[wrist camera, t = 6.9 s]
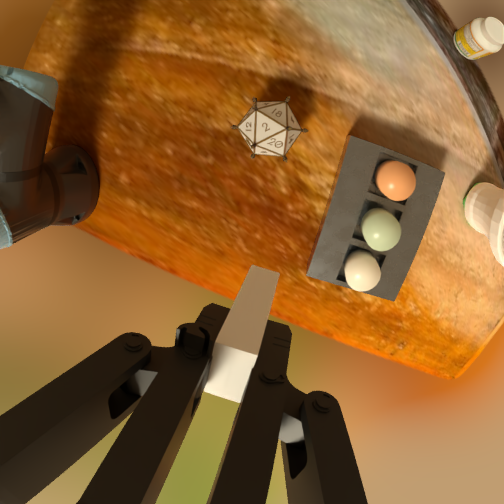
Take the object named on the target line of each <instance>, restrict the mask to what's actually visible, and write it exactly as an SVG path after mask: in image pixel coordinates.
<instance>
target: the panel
mask: <svg viewBox="0 0 504 504" xmlns="http://www.w3.org/2000/svg"><path fill="white" fill-rule="evenodd" d="M388 160H395V161H398V162H401V163H404V164H406V165H408V166H409V167H410V168H411V169H412V171H413V172H414V175H415V178H416V186H415V189H414V191H413V193H412V194H411V195H410V196H409V197H408V198H407V199H405V200H402V201H394V200H391V199H389V198H388V197H387V196H385V195H384V194H383V193H382V192H381V191H380V190H379V189H378V188H377V186H376V183H375V172H376V170H377V168H378V166H379V165H380V164H381V163H383V162H385V161H388ZM444 175H445V172H442V171H440V170H438V169H436V168H434V167H431V166H429V165H427V164H424V163H422V162H420V161H417V160H415V159H413V158H410V157H408V156H405V155H403V154H400V153H398V152H395V151H393V150H390V149H387V148H385V147H382V146H379V145H377V144H374V143H371V142H368V141H365V140H363V139H360V138H357V137H354V136H351V135H349V136H347V137H346V141H345V144H344V148H343V152H342V155H341V159H340V162H339V165H338V169H337V172H336V176H335V179H334V182H333V186H332V189H331V192H330V195H329V199H328V202H327V205H326V208H325V211H324V215H323V218H322V221H321V224H320V227H319V230H318V233H317V236H316V239H315V242H314V245H313V248H312V251H311V254H310V257H309V260H308V263H307V273H306V276H310V277H313V278H316V279H320V280H323V281H326V282H330V283H333V284H336V285H340V286H343V287H347V288H350V289H352V288H351V287H350V286H349V285H348V283H347V281H346V276H345V271H344V262H345V260H346V258H347V256H348V255H349V254H350V253H352V252H354V251H356V250H367V251H369V252H371V253H372V254H373V255H374V257H375V259H376V261H377V263H378V265H379V267H380V271H381V277H380V280H379V282H378V284H377V285H376V286H375V287H374V288H372V289H370V290H368V291H360V292H364V293H367V294H370V295H374V296H377V297H381V298H384V299H387V300H391V301H395V299H396V297H397V295H398V292H399V290H400V288H401V286H402V284H403V282H404V280H405V277H406V275H407V273H408V271H409V269H410V266H411V264H412V262H413V259H414V257H415V255H416V252H417V250H418V248H419V245H420V243H421V240H422V238H423V235H424V233H425V230H426V227H427V225H428V222H429V219H430V217H431V214H432V211H433V208H434V206H435V203H436V200H437V197H438V194H439V191H440V188H441V185H442V182H443V179H444ZM373 208H384V209H386V210H388V211H389V212H390V213H391V214H392V215H393V216H394V217H395V218H396V219H397V220H398V222H399V224H400V227H401V236H400V239H399V241H398V243H397V244H396V245H395V246H394V247H393V248H391V249H389V250H387V251H377V250H374V249H372V248H371V247H370V246H369V245H368V244H367V242H366V240H365V238H364V236H363V234H362V231H361V221H362V218H363V216H364V215H365V214H366V213H367V212H368V211H369V210H371V209H373ZM353 290H354V289H353Z"/></svg>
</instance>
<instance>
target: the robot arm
mask: <svg viewBox="0 0 504 504" xmlns="http://www.w3.org/2000/svg"><path fill="white" fill-rule="evenodd" d="M57 92H58V83H57V81H56V80H55V79H54V78H53V77H51V76H47V75H44V74H40V73H36V72H32V71H28V70H23V69H18V68H13V67H7V66H2V65H0V249H2V248H5V247H9V246H11V245H12V244H13V243H16V242H17V241H19V240H21V239H23V238H25V237H27V236H29V235H31V234H33V233H35V232H37V231H39V230H41V229H43V228H45V227H48V226H50V225H60V226H65V225H67V226H70V225H75V224H77V223H79V222H81V221H84V220H85V219H87V218H88V217H89V216H90V215H91V213H92V212H93V210H94V208H95V206H96V203H97V200H98V194H99V180H98V175H97V171H96V168H95V165H94V163H93V161H92V159H91V158H90V156H89V155H88V154H87V152H86V151H84V150H83V149H82V148H80V147H78V146H76V145H64V146H59V147H56V148H54V149H52V150H51V151H49V152H48V153H46V154H45V149H46V144H47V139H48V134H49V129H50V124H51V120H52V115H53V111H55V101H56V96H57ZM279 274H280V273H277V272H274V271H271V270H268V269H264V268H261V267H258V266H254V265H252V266H251V268H250V270H249V272H248V274H247V276H246V278H245V280H244V282H243V284H242V286H241V289H240V291H239V293H238V295H237V297H236V299H235V301H234V303H233V306H232V307H231V309H229V308H226V307H223V306H220V305H217V304H214V303H211V304H209V305H207V306H206V307H204V308H203V310H202V311H201V313H200V315H199V317H198V318H197V320H196V321H195V323H185V324H182V325H180V326H179V327H178V328H177V330H176V339H175V346H173V347H157V346H152V345H151V342H150V340H149V339H148V338H147V337H146V336H144V335H142V334H140V333H133V332H130V333H125V334H122V335H120V336H119V337H117V338H116V339H114V340H113V341H111V342H110V343H108V344H107V345H105V346H104V347H102V348H101V349H99V350H98V351H96V352H95V353H93V354H92V355H90V356H89V357H87V358H86V359H84V360H83V361H81V362H80V363H78V364H77V365H76V366H74V367H72V368H71V369H69V370H68V371H66V372H65V373H63V374H62V375H61V376H59V377H57V378H56V379H54V380H53V381H51V382H50V383H48V384H47V385H45V386H44V387H42V388H41V389H40V390H38V391H37V392H35V393H34V394H32V395H31V396H29V397H28V398H26V399H25V400H23V401H22V402H20V403H19V404H17V405H16V406H14V407H13V408H11V409H10V410H8V411H7V412H5V413H4V414H2V415H1V416H0V504H25V503H27V502H28V501H29V500H30V499H32V498H33V497H34V496H36V495H37V494H38V493H39V492H40V491H42V490H43V489H44V488H45V487H46V486H47V485H49V484H50V483H51V482H52V481H54V480H55V479H56V478H57V477H59V476H60V475H61V474H62V473H63V472H64V471H65V470H67V469H68V468H69V467H70V466H72V465H73V464H74V463H75V462H76V461H77V460H79V459H80V458H81V457H82V456H83V455H84V454H86V453H87V452H88V451H89V450H90V449H91V448H92V447H94V446H95V445H96V444H97V443H98V442H99V441H100V440H102V439H103V438H104V437H105V436H106V435H107V434H108V433H109V432H110V431H112V430H113V429H114V428H115V427H116V426H117V425H118V424H120V423H121V422H122V421H123V420H124V419H125V418H126V417H127V416H128V415H129V414H131V413H132V412H133V413H132V415H131V416H130V418H129V419H128V421H127V423H126V424H125V426H124V427H123V429H122V431H121V432H120V434H119V436H118V437H117V439H116V441H115V442H114V444H113V445H112V447H111V449H110V450H109V452H108V453H107V455H106V457H105V458H104V460H103V462H102V463H101V465H100V467H99V468H98V470H97V472H96V473H95V475H94V477H93V478H92V480H91V482H90V483H89V485H88V486H87V488H86V490H85V491H84V493H83V495H82V497H81V498H80V500H79V501H78V502H77V503H76V504H155V503H156V500H157V498H158V496H159V494H160V492H161V489H162V487H163V485H164V483H165V480H166V478H167V476H168V474H169V471H170V469H171V467H172V465H173V462H174V460H175V458H176V456H177V453H178V451H179V449H180V447H181V444H182V442H183V440H184V438H185V435H186V433H187V431H188V428H189V426H190V424H191V422H192V419H193V417H194V415H195V412H196V410H197V408H198V406H199V403H200V400H201V395H202V392H203V390H204V391H205V392H207V393H210V394H214V395H216V396H220V397H222V398H226V399H229V400H232V401H235V402H238V403H240V405H239V408H238V410H237V413H236V416H235V418H234V421H233V426H232V429H231V432H230V435H229V438H228V441H227V444H226V447H225V450H224V453H223V457H222V459H221V463H220V465H219V468H218V471H217V474H216V477H215V480H214V483H213V486H212V489H211V492H210V495H209V498H208V501H207V504H265V503H266V499H267V494H268V489H269V485H270V480H271V475H272V470H273V464H274V459H275V454H276V449H277V443H278V439H280V440H281V448H282V456H283V464H284V472H285V480H286V488H287V497H288V504H368V503H367V499H366V496H365V492H364V488H363V484H362V481H361V478H360V474H359V470H358V466H357V463H356V459H355V456H354V452H353V449H352V445H351V442H350V438H349V435H348V432H347V428H346V425H345V421H344V418H343V415H342V412H341V408H340V406H339V403H338V401H337V400H336V399H335V398H334V397H333V396H332V395H330V394H329V393H326V392H323V391H312V392H310V393H308V394H305V393H303V392H301V391H299V390H298V389H296V388H295V387H294V386H293V385H292V384H291V383H290V382H289V380H288V378H287V375H286V371H287V364H288V358H289V351H290V344H291V337H292V333H291V330H290V328H289V326H288V325H284V324H281V323H277V322H274V321H270V320H268V316H269V312H270V309H271V305H272V301H273V297H274V293H275V290H276V286H277V282H278V278H279ZM204 388H205V389H204Z"/></svg>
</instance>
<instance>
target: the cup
mask: <svg viewBox="0 0 504 504" xmlns="http://www.w3.org/2000/svg"><path fill="white" fill-rule="evenodd" d="M463 205H464V210H465V216H466V219H467V222H468V224H469V225H470V226H471V227H473V228H474V229H475V230H477V231H478V232H480V233H482V234H485V235H486V237H487V238H488V239H489V242H490V246H491V249H492V252H493V254H494V256H495V258H496V260H497V261H498V262H499V263H500V264H501V265H502V266H503V267H504V189H500V188H498V187H497V186H495V185H493V184H491V183H486V182H483V183H476V184H474V186H473V188H472V189H471V190H470V191H469V193H468V194H467V196H466V197H465V198H464V199H463Z"/></svg>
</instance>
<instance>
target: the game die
mask: <svg viewBox="0 0 504 504" xmlns="http://www.w3.org/2000/svg"><path fill="white" fill-rule="evenodd" d="M289 100H290V96H289V97H286V100H285V101H264V102H257V98H255V97H253V102H255V103H254V105H253V106H252V107H251V108H250V110H249V111H248V112H247V114H246V115H245V116H244V118H243V119H242V120H241V122H240V123H239V124H238V126H236V125H233V126H231V128H232V129H236V128H237V129H238V130H239V132H240V133H241V135H242V136H243V138H244V140H245V141H246V143H247V144H248V146H249V147H250V149H251V151H252V152H253V154H252V155H251V159H253V158H254V157H255V154H258V155H270V156H281V157H283V161H285V162H287V157H286V156H285V155H286V153H287V152H288V150H289V149H290V148H291V146H292V145H293V143H294V142H295V140H296V139H297V137H298V136H299V134H300V133H301V132H305V133H306V132H308V130H307V129H301V127H300V125H299V123H298V121H297V119H296V118H295V116H294V114H293V112H292V110H291V109H290V107H289V105H288V103H287V102H288V101H289Z"/></svg>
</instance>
